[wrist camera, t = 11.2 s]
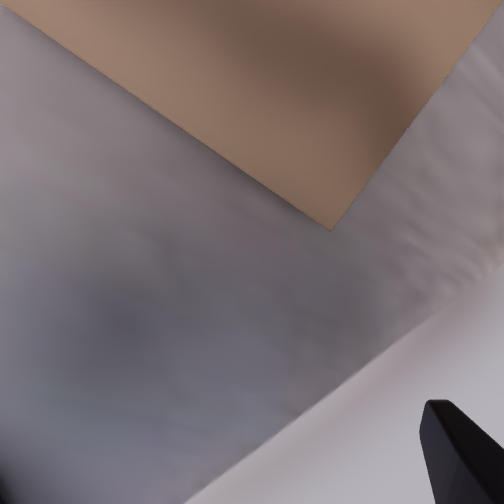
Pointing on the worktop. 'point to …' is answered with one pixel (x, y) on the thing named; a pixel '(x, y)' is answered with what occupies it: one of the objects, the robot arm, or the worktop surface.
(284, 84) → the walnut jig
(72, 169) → the worktop surface
